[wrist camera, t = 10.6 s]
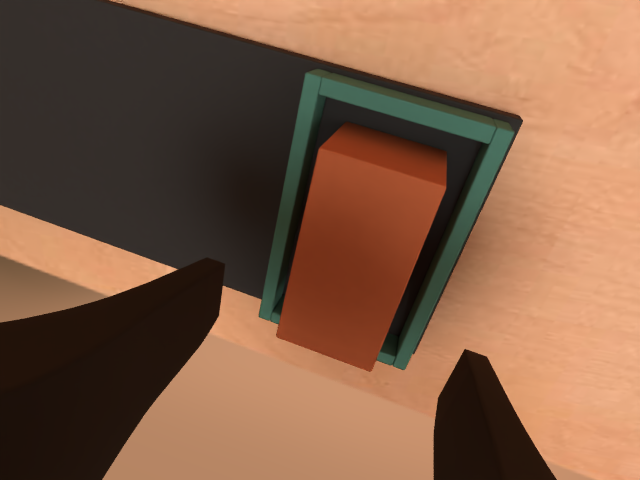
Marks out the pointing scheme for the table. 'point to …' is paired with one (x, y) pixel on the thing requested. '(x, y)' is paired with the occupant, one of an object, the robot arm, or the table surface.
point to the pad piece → (360, 241)
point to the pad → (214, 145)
